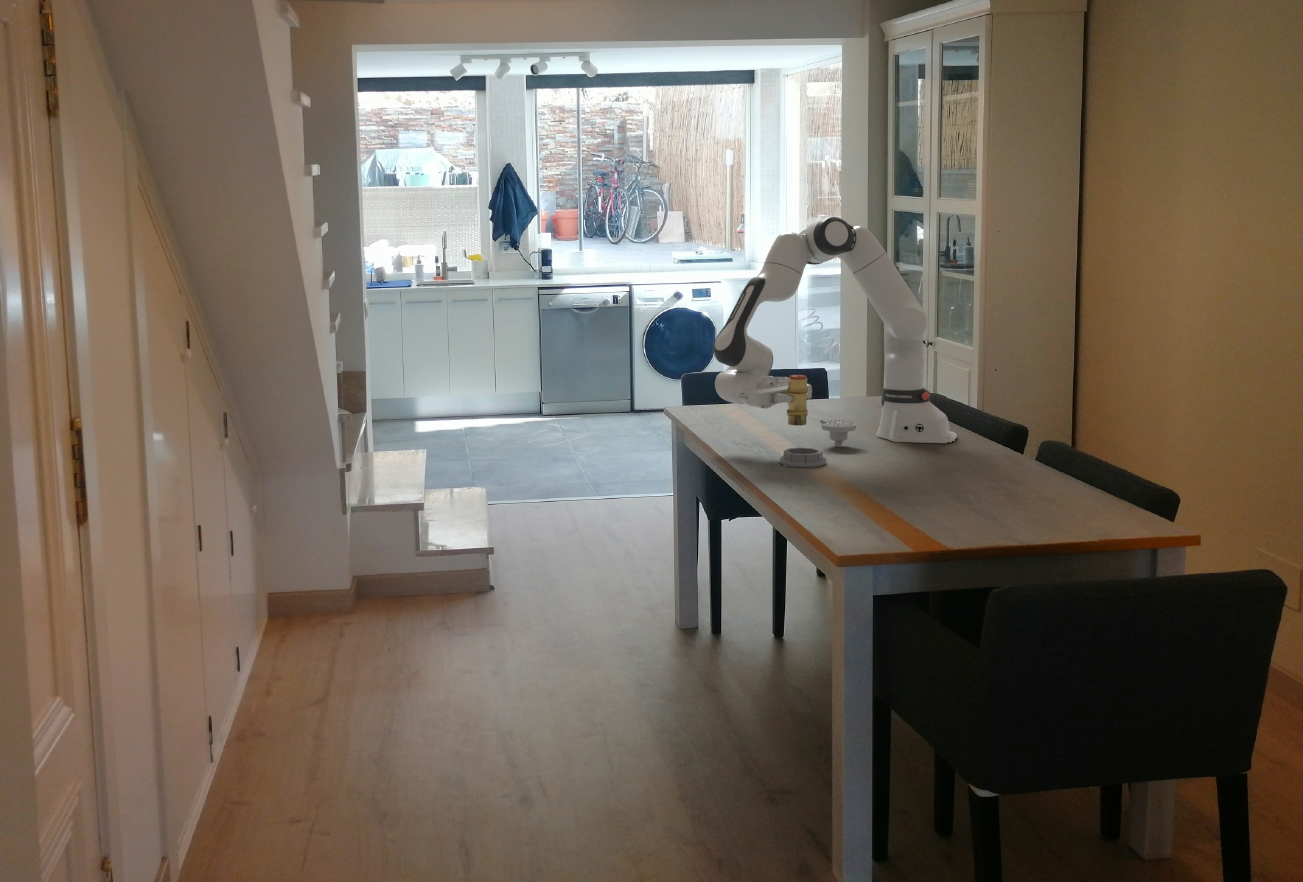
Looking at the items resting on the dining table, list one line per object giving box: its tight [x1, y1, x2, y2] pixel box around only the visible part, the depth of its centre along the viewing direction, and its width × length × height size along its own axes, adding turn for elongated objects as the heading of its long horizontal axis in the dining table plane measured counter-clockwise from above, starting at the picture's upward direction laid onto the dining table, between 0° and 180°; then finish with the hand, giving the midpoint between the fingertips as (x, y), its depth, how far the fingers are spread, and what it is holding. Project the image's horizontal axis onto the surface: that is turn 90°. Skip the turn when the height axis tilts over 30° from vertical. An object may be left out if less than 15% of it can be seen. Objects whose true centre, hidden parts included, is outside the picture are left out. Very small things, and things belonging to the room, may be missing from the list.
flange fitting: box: [779, 446, 827, 468], centre depth 327 cm, size 12×12×3 cm
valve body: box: [786, 374, 809, 426], centre depth 327 cm, size 5×5×13 cm
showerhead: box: [819, 419, 857, 448], centre depth 348 cm, size 9×7×10 cm
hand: (800, 397), depth 326 cm, fingers closed on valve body, 5 cm apart
